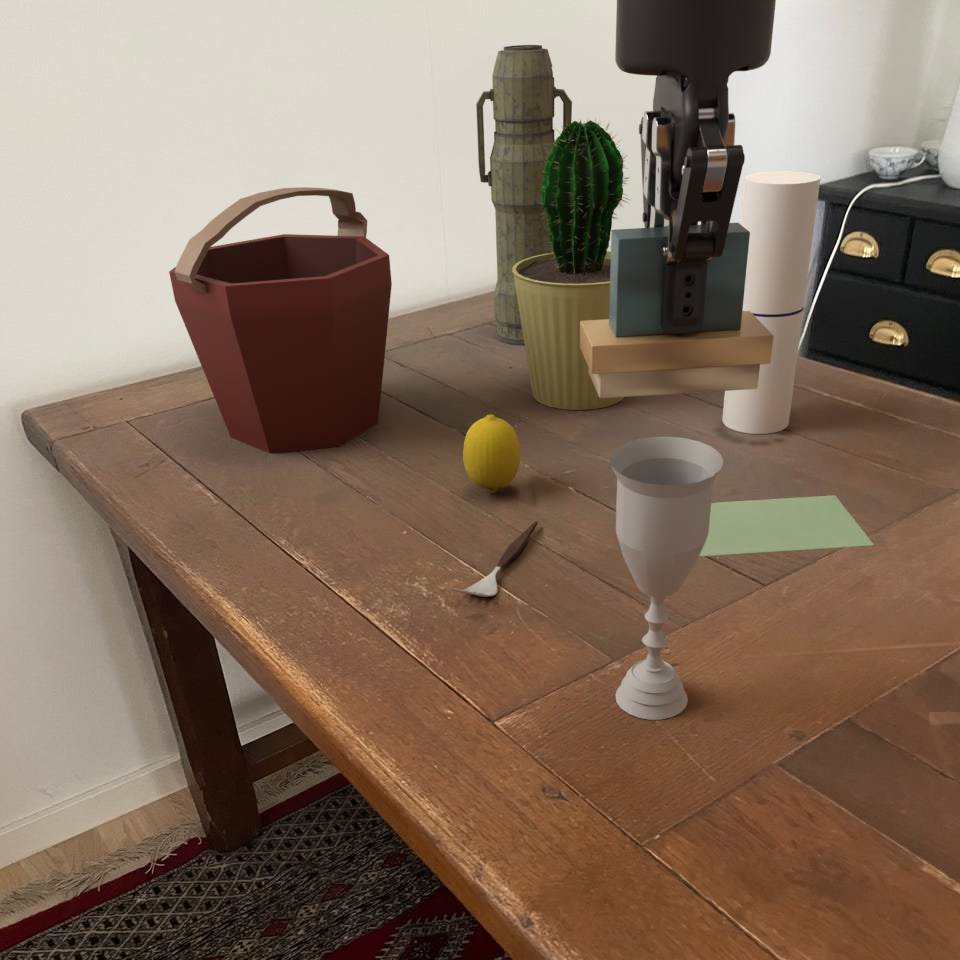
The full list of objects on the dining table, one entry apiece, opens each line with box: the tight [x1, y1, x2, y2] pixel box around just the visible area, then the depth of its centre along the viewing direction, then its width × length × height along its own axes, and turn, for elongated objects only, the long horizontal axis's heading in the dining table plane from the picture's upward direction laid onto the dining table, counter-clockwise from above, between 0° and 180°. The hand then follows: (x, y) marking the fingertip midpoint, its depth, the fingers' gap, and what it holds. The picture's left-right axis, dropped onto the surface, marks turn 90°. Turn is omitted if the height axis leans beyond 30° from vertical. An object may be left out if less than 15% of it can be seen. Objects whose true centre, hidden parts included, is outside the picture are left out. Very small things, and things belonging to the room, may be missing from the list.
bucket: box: [168, 186, 393, 454], centre depth 111 cm, size 24×22×25 cm
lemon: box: [462, 414, 521, 494], centre depth 99 cm, size 6×6×8 cm
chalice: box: [609, 435, 724, 721], centre depth 67 cm, size 7×7×18 cm
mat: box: [698, 494, 875, 558], centre depth 92 cm, size 16×10×1 cm, turn 93°
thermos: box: [475, 44, 573, 346], centre depth 133 cm, size 9×12×35 cm
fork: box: [451, 521, 539, 598], centre depth 88 cm, size 3×16×2 cm, turn 156°
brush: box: [580, 222, 773, 398], centre depth 57 cm, size 10×5×8 cm, turn 93°
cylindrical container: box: [721, 170, 822, 435], centre depth 106 cm, size 7×7×25 cm
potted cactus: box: [512, 118, 631, 411], centre depth 115 cm, size 15×15×30 cm
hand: (675, 322), depth 58 cm, fingers closed on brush, 2 cm apart
